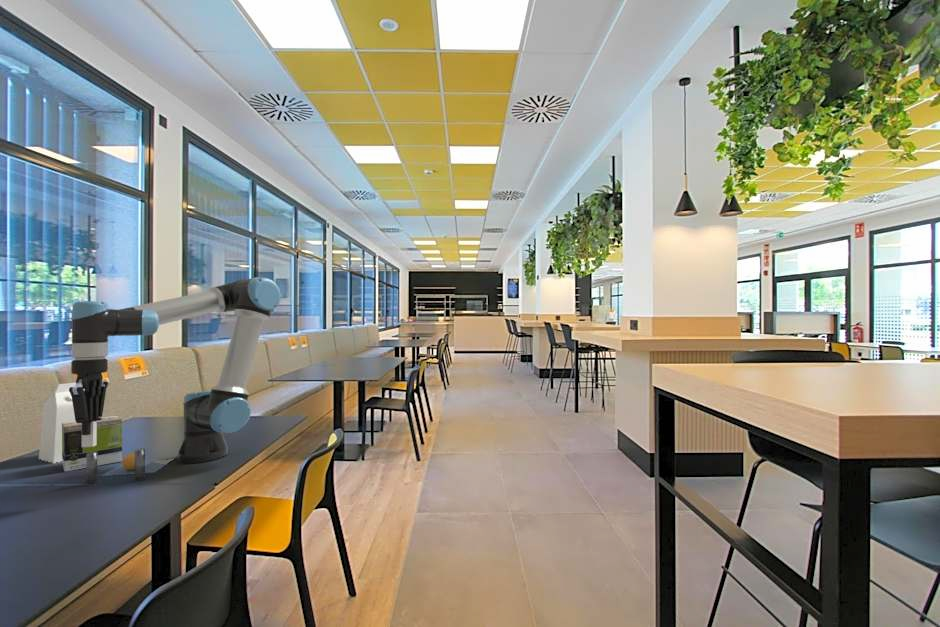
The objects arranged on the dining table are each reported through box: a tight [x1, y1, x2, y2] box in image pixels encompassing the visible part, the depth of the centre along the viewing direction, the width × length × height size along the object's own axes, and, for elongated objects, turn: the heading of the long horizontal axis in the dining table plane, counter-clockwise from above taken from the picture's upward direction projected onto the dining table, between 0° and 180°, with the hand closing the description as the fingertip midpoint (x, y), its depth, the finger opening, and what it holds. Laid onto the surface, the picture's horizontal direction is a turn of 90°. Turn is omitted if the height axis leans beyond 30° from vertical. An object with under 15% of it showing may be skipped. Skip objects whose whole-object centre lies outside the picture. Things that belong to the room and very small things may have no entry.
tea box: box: [61, 415, 123, 472], centre depth 152 cm, size 15×10×15 cm, turn 134°
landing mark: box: [100, 461, 168, 477], centre depth 148 cm, size 15×15×1 cm
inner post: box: [134, 448, 146, 482], centre depth 135 cm, size 2×2×9 cm
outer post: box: [85, 451, 99, 485], centre depth 133 cm, size 2×2×9 cm
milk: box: [38, 382, 76, 464], centre depth 161 cm, size 12×12×26 cm
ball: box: [121, 452, 135, 471], centre depth 145 cm, size 6×6×6 cm
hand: (89, 446), depth 122 cm, fingers closed
